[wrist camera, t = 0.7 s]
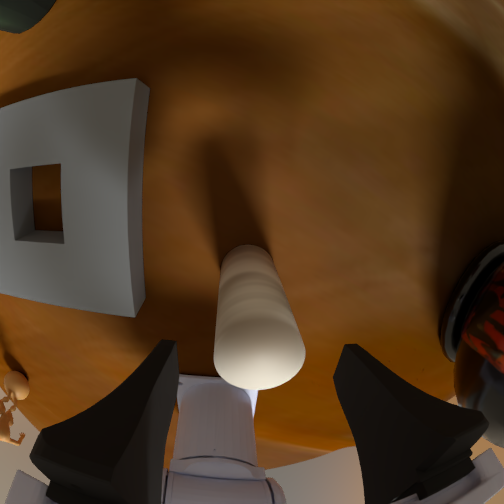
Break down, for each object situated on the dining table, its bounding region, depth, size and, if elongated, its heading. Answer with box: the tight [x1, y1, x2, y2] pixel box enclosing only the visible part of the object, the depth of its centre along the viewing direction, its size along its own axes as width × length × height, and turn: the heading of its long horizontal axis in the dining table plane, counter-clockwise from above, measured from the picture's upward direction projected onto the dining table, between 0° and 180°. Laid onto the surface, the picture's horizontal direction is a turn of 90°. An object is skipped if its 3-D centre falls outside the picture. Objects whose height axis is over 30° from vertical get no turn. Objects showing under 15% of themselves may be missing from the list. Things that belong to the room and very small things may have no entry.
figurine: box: [0, 371, 29, 446], centre depth 18 cm, size 8×6×12 cm
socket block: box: [0, 78, 150, 318], centre depth 16 cm, size 16×16×3 cm
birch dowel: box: [214, 245, 305, 390], centre depth 16 cm, size 4×4×10 cm
